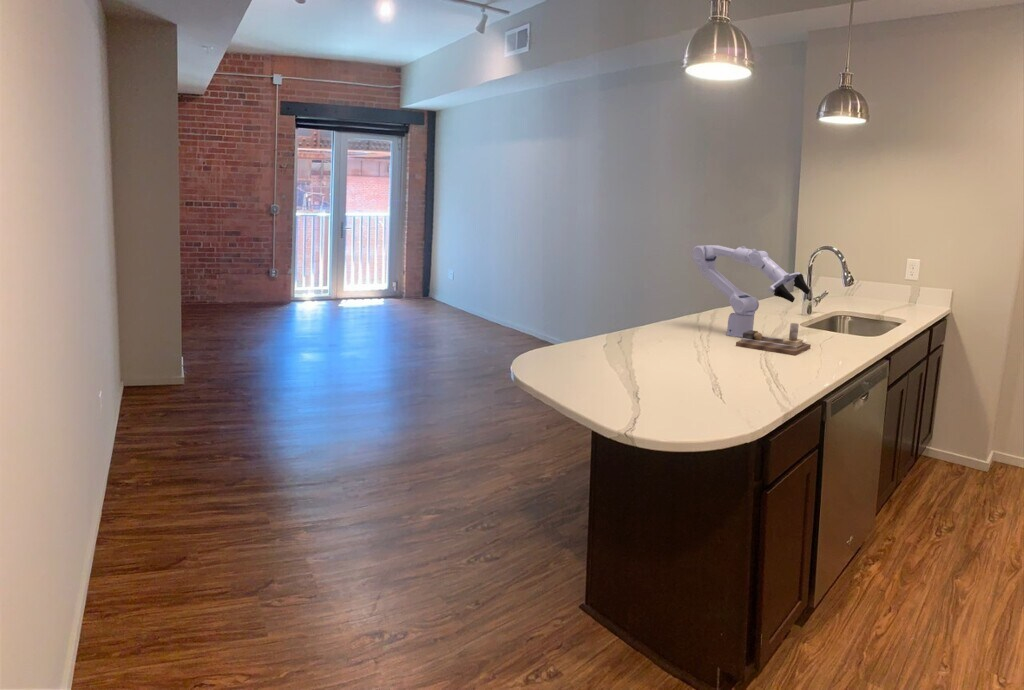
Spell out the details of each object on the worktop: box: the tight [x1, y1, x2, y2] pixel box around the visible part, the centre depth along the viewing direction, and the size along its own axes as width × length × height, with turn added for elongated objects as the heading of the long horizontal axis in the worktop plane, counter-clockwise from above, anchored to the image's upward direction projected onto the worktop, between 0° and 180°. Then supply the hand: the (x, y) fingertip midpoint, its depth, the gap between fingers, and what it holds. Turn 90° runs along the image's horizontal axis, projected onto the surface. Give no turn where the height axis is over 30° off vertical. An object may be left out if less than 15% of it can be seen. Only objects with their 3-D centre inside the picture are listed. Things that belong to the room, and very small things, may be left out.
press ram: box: [783, 322, 804, 347], centre depth 263 cm, size 5×6×8 cm
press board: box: [735, 329, 811, 356], centre depth 268 cm, size 22×16×5 cm
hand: (801, 296), depth 267 cm, fingers open, 7 cm apart
